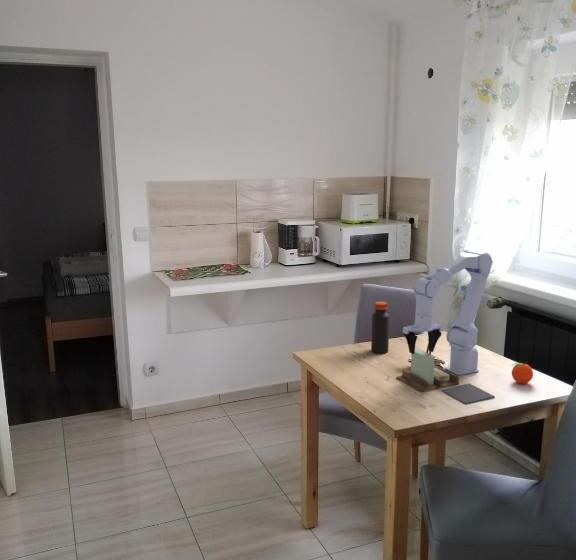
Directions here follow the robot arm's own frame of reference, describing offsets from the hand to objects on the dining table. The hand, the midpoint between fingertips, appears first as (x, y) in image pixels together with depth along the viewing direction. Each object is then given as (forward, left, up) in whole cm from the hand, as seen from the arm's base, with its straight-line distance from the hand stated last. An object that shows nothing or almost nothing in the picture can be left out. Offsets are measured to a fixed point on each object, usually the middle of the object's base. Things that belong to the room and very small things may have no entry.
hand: (421, 352), depth 205 cm
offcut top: (-7, 0, -10) cm, 12 cm away
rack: (-3, 0, -11) cm, 12 cm away
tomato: (-31, +15, -11) cm, 36 cm away
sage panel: (-1, 0, -11) cm, 11 cm away
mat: (-8, +15, -11) cm, 20 cm away
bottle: (-5, -34, -11) cm, 36 cm away
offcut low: (-7, 0, -11) cm, 13 cm away
